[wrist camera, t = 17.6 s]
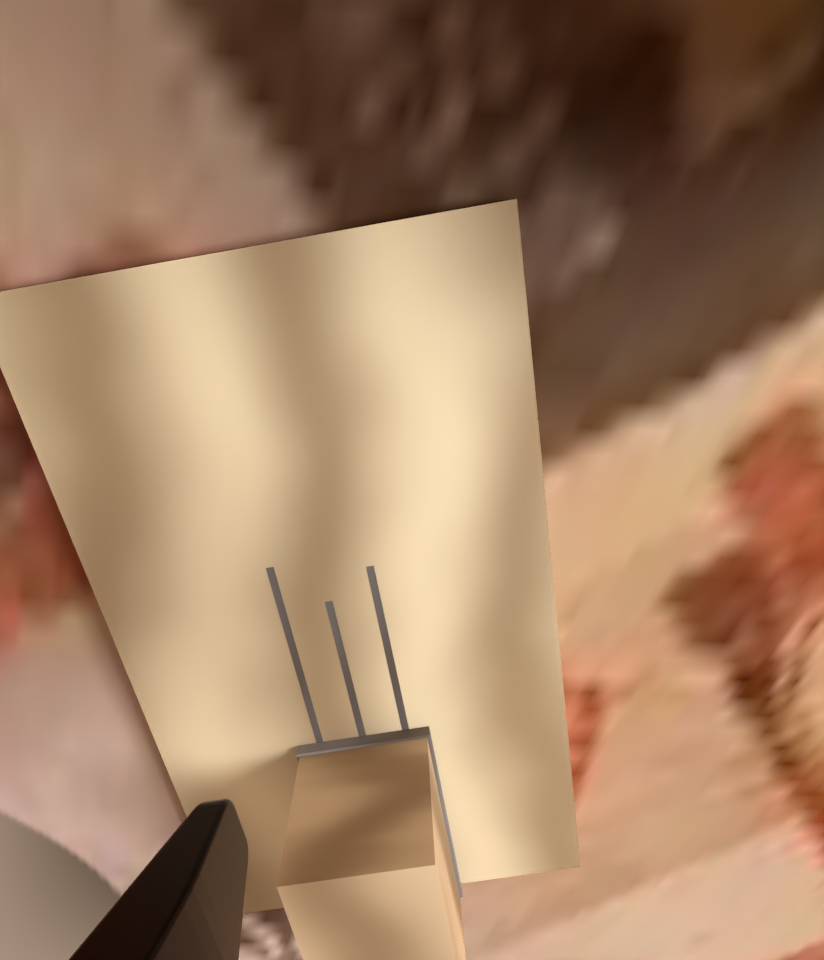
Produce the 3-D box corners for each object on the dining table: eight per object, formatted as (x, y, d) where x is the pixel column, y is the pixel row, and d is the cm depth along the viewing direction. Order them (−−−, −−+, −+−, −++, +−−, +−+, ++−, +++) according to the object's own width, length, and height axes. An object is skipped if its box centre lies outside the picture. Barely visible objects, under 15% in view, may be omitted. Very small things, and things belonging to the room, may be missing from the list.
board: (508, 199, 17) (516, 199, 16) (572, 839, 26) (580, 867, 25) (-2, 291, 17) (-30, 296, 16) (234, 886, 27) (227, 915, 25)
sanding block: (429, 726, 22) (438, 861, 17) (461, 887, 25) (476, 1038, 20) (297, 745, 22) (272, 885, 18) (345, 903, 25) (335, 1056, 21)
